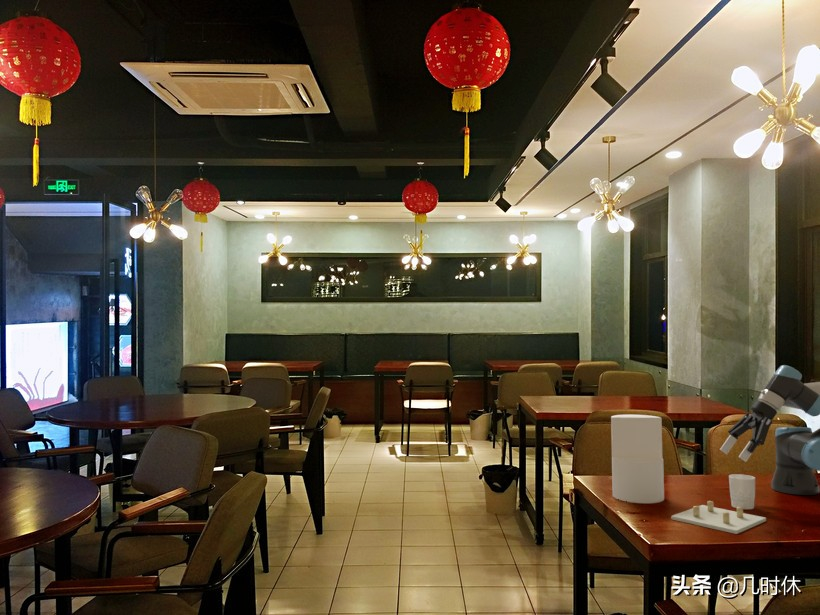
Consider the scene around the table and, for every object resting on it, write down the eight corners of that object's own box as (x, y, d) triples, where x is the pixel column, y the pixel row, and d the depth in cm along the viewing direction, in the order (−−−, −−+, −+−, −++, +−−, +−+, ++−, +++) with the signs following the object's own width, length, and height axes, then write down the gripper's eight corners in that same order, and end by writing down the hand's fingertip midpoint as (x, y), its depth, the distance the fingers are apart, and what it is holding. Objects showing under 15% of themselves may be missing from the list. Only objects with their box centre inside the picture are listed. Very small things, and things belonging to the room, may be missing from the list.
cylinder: (608, 490, 242) (606, 414, 243) (656, 491, 240) (655, 414, 241) (618, 502, 225) (616, 420, 226) (670, 503, 223) (668, 421, 224)
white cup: (734, 502, 224) (733, 473, 224) (759, 506, 218) (758, 476, 219) (725, 507, 218) (725, 476, 219) (751, 511, 213) (750, 480, 213)
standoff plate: (766, 520, 202) (765, 507, 202) (736, 534, 189) (736, 520, 190) (702, 507, 218) (702, 495, 218) (671, 519, 205) (670, 506, 205)
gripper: (740, 395, 241) (707, 443, 240) (778, 403, 216) (741, 456, 215) (757, 407, 240) (724, 455, 240) (797, 416, 216) (760, 469, 215)
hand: (732, 455), depth 228 cm, fingers open, 13 cm apart
